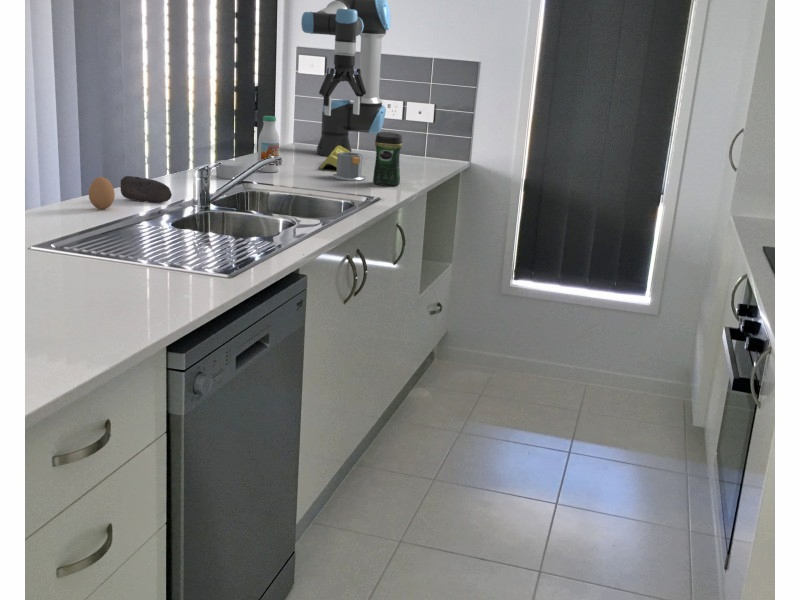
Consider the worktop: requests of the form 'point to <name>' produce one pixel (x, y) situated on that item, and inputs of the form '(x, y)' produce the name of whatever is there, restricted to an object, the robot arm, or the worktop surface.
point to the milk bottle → (268, 143)
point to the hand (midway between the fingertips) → (341, 114)
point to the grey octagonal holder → (349, 165)
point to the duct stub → (349, 178)
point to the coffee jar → (387, 159)
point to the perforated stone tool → (144, 189)
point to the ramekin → (230, 168)
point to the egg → (101, 193)
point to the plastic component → (333, 157)
